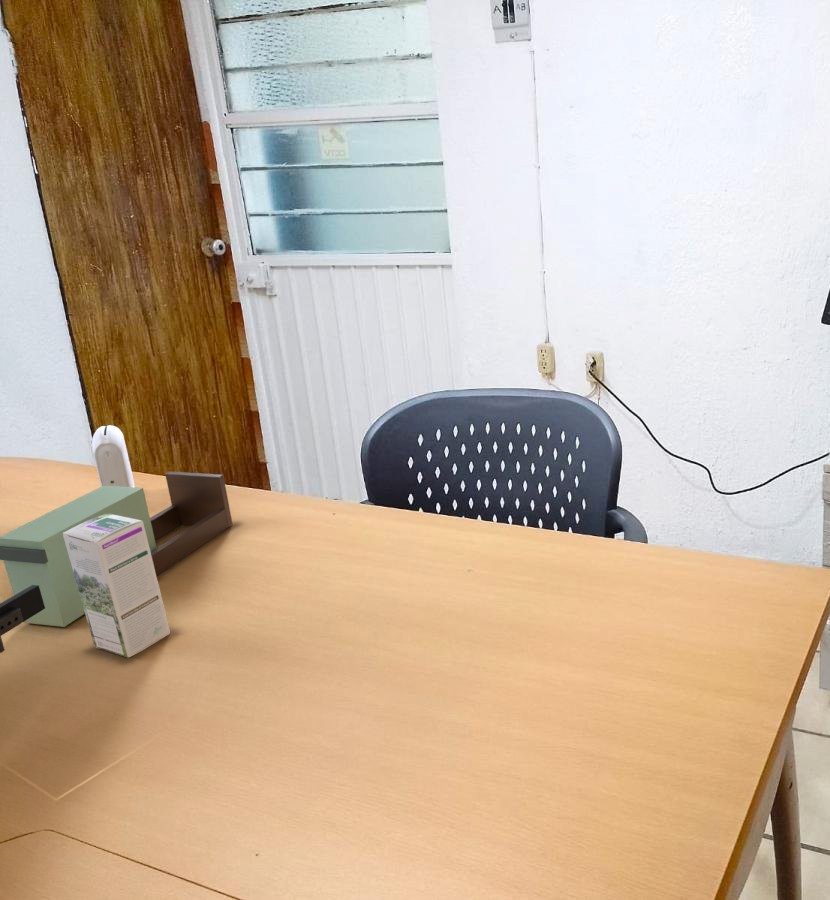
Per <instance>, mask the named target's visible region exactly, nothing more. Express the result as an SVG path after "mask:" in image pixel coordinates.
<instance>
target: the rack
mask: <svg viewBox="0 0 830 900" xmlns="http://www.w3.org/2000/svg"><path fill="white" fill-rule="evenodd" d="M164 476H165V480H166V484H167V485H166V486H167V490H168V493H169V499H170V503H171V505H170V506H168V507H166V508H164V509H163V510H161V511H159V512H158V513H156V514H154V515H152V516H150V521H151V525H152V530H153V534H154V538H155V541H156V540H157V539H159V538H161V537H162V536H164V535H166V534H167V533H169V532H170V531H172V530H174V529H175V528H177V527H179V526H180V525H191V526H189V527H188V528H186V529H185V530H183V531H182V532H180V533H178V534H176V535H175V536H174V537H173V536H172V538H170V539H168V540H167V541H166V542H164V543H162V544H161V545H159V546H158V547H157V548H156V549H154V550H153V551H151V556H152V560H153V564H154V569H155V573H156V577H158V576H159V575H160V574H162V573H164V572H165V571H167V570H169V568H171V567H172V566H174V565H176V564H177V563H178V562H181V560H183V559H184V558H185V557H187V556H189V555H190V554H192V553H193V552H194V551H196V550H197V549H199V548H200V547H202V546H204V545H205V544H206V543H208V542H209V541H211V540H212V539H214V538H216V537H217V536H218V535H220V534H221V533H222V532H224V531H226V530H227V529H229V528H230V527H232V526H233V525H234V524H233V518H232V513H231V508H230V503H229V499H228V493H227V487H226V482H225V477H224V474H218V473H217V474H216V473H201V472H199V473H198V472H183V471H167V472H166V473H165V474H164Z"/></svg>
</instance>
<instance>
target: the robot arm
mask: <svg viewBox="0 0 830 900" xmlns="http://www.w3.org/2000/svg"><path fill="white" fill-rule="evenodd" d="M44 609H45V606H44V602H43V599H42V595H41V592H40V588H39V585H31V586H30V587H28V588H26V589H24V590H23V591H21V592H19V593H17V594H16V595H14V594H13V595H12V596H10V597H9V598H7V599H5V600H3V601H1V602H0V654H2V653H3V652H5V649H6V648H5V645H4V642H3V638H2V636H4V635H5V634H6V633H8V632H10V631H12V630H13V629H15V628H16V627H18V626H19V625H21V624H23V623H24V621H26V620H27V619H29V618H31V617H32V616H34V615H36V614H37V613H39V612H40V611H42V610H44Z"/></svg>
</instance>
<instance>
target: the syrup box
mask: <svg viewBox="0 0 830 900" xmlns="http://www.w3.org/2000/svg"><path fill="white" fill-rule="evenodd" d="M63 537H64V540H65V544H66V547H67V551H68V555H69V558H70V562H71V565H72V569H73V573H74V576H75V579H76V583H77V586H78V590H79V594H80V597H81V601H82V604H83V608H84V611H85V614H84V615H85V618H86V622H87V625H88V628H89V631H90V632H89V633H90V635H91V639H92V642H93V646H94V648H95V649H98V650H102V651H105V652H108V653H110V654H111V653H112V654H114V655H117V656H121V657H124V658H131V657H133V656H135V655H137V654H139V653H141V652H142V651H144V650H146V649H147V648H149V647H151V646H152V645H154V644H156V643H158V642H159V641H160V640H163V639H164V638H165V637H167V636H169V635H170V634H171V628H170V625H169V621H168V618H167V617H168V616H167V613H166V609H165V605H164V601H163V597H162V593H161V589H160V584H159V581H158V576H156V573H155V569H154V564H153V560H152V556H151V552H150V548H149V544H148V540H147V536H146V532H145V528H144V524H143V521H141V520H136V519H132V518H127V517H122V516H118V515H113V514H105V515H102V516H99V517H96V518H93V519H91V520H88V521H86V522H84V523H81V524H79V525H77V526H75V527H73V528H72V529H70V530H68V531H66V532H63Z"/></svg>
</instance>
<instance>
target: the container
mask: <svg viewBox="0 0 830 900" xmlns="http://www.w3.org/2000/svg"><path fill="white" fill-rule="evenodd" d="M105 514H113V515H118V516H122V517H127V518H132V519H136V520H141V521H143V524H144V528H145V532H146V536H147V540H148V544H149V548H150V552H151V551H153V550H154V549H156V548H158V547H157V544H156V540H155V538H154V534H153V530H152V525H151V521H150V518H151V516H150V512H149V508H148V504H147V500H146V495H145V491H144V487H135V488H134V487H119V486H102V487H101V486H100V487H98V488H96V489H94V490H91V491H90V492H88V493H85V494H83V495H81V496H79V497H77V498H75V499H73V500H71V501H69V502H67V503H65V504H63V505H61V506H59V507H57V508H55V509H53V510H51V511H49V512H47V513H45V514H43V515H41V516H39V517H37V518H35V519H32V520H30V521H28V522H27V523H24V524H22V525H20V526H18V527H17V528H14V529H12V530H10V531H8V532H6V533H4V534H2V535H0V561H3V564H4V568H5V571H6V574H7V578H8V581H9V585H10V588H11V590H12V594H13V596H14V595H16V594H17V593H19V592H21V591H23V590H24V589H26V588H28V587H30V586H31V585H39V588H40V592H41V595H42V599H43V602H44V606H45V609H44V610H42V611H40V612H39V613H37V614H36V615H34V616H32V617H31V618H29V619H27V620H26V621H24V622H23V623H26V624H32V625H33V624H34V625H44V626H50V627H51V626H52V627H61V628H65V627H67V626H68V625H70V624H71V623H74V621H76V620H78V619H79V618H80V617H82V616H84V615H85V611H84V608H83V604H82V601H81V597H80V594H79V590H78V586H77V583H76V579H75V576H74V573H73V569H72V565H71V562H70V558H69V555H68V551H67V547H66V544H65V540H64V537H63V532H66V531H68V530H70V529H72V528H73V527H75V526H77V525H79V524H81V523H84V522H86V521H88V520H91V519H93V518H96V517H99V516H102V515H105Z"/></svg>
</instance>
